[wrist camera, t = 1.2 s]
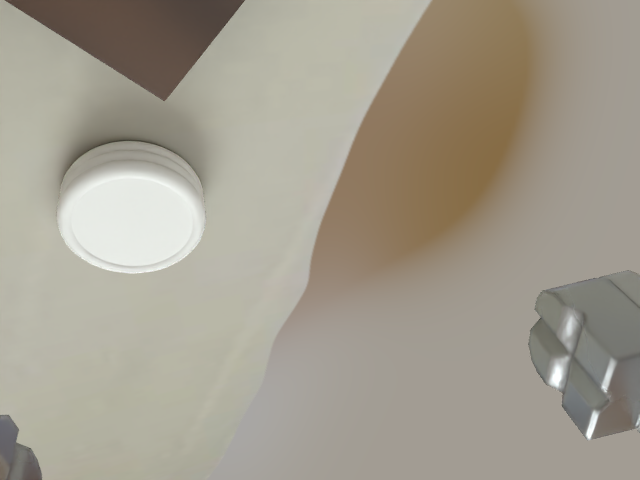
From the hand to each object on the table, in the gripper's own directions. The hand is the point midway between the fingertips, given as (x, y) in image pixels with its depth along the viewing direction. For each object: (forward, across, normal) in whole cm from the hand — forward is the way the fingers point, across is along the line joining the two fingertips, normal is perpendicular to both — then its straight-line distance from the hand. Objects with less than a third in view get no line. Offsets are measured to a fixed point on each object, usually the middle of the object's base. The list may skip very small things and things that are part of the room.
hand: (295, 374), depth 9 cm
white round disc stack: (+33, +7, +14) cm, 36 cm away
